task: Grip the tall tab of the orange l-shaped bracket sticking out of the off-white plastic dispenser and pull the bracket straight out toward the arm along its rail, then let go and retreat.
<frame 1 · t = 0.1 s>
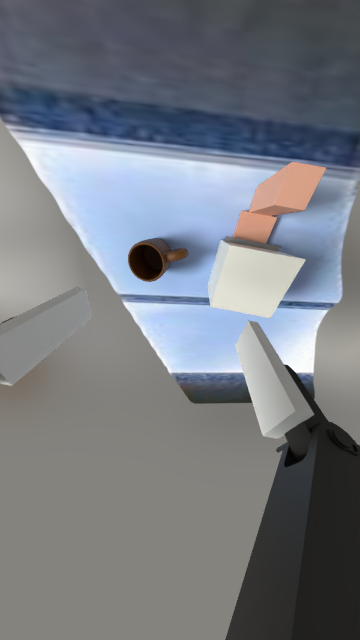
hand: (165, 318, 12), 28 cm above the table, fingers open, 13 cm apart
dispenser: (237, 269, 35), on the table
orange l-shaped bracket: (256, 246, 27), point 6 cm above the table, slide at 0.0 cm
mug: (166, 253, 35), on the table
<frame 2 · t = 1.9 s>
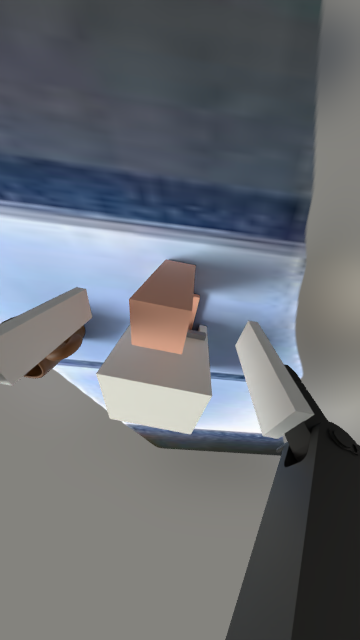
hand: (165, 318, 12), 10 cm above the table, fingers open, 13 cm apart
dispenser: (168, 342, 27), on the table
orange l-shaped bracket: (165, 344, 19), point 6 cm above the table, slide at 0.0 cm
mug: (77, 322, 27), on the table
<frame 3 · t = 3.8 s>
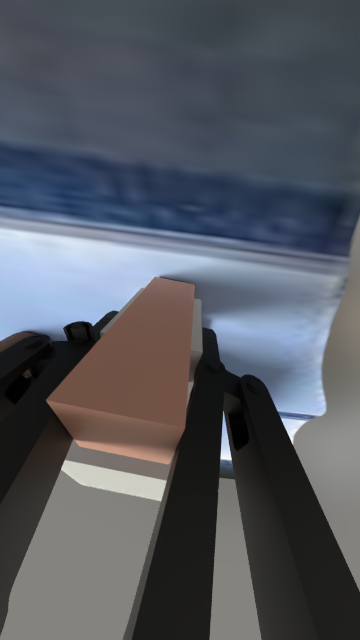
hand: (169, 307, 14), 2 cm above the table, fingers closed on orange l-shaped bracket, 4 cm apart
dispenser: (162, 372, 23), on the table
orange l-shaped bracket: (153, 390, 14), point 6 cm above the table, slide at 0.0 cm, touching gripper
mug: (51, 346, 23), on the table
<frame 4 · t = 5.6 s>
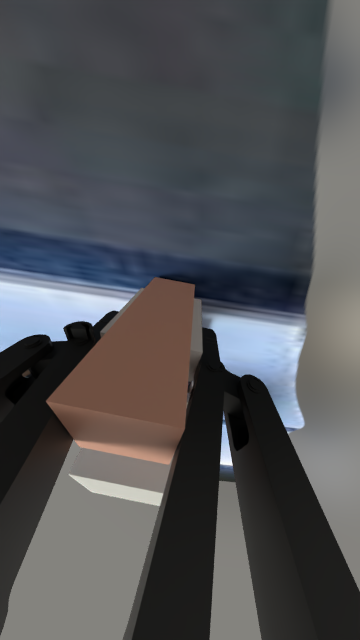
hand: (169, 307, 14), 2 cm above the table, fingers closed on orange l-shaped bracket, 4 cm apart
dispenser: (159, 391, 26), on the table
orange l-shaped bracket: (154, 390, 14), point 6 cm above the table, slide at 5.6 cm, touching gripper
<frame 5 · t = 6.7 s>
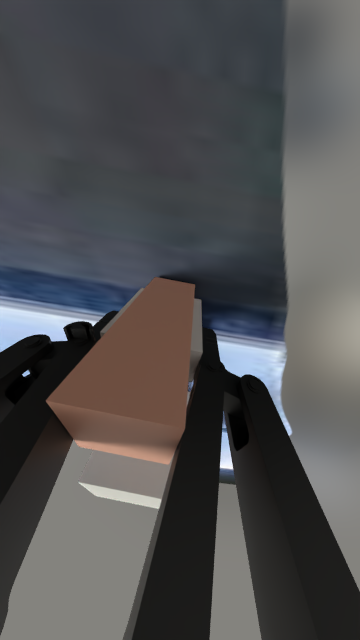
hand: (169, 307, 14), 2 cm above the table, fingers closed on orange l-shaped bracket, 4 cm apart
dispenser: (158, 401, 28), on the table
orange l-shaped bracket: (153, 390, 14), point 6 cm above the table, slide at 9.4 cm, touching gripper
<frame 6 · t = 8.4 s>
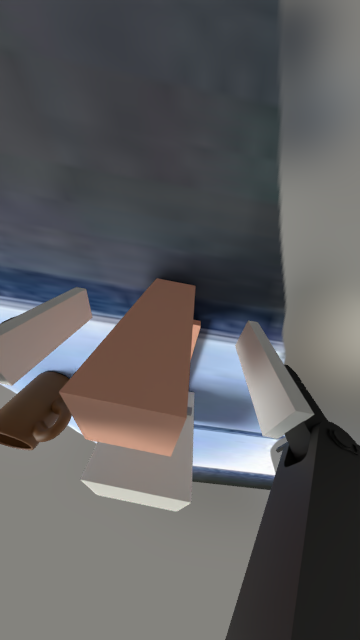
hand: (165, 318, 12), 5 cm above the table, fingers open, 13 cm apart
dispenser: (158, 401, 28), on the table
orange l-shaped bracket: (155, 388, 14), point 6 cm above the table, slide at 9.5 cm
mug: (69, 381, 28), on the table
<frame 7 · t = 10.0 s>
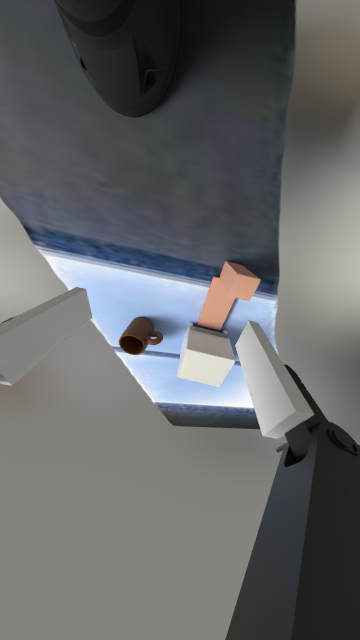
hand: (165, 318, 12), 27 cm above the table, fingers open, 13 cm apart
dispenser: (202, 339, 47), on the table
orange l-shaped bracket: (222, 308, 33), point 6 cm above the table, slide at 9.5 cm
mug: (149, 325, 46), on the table
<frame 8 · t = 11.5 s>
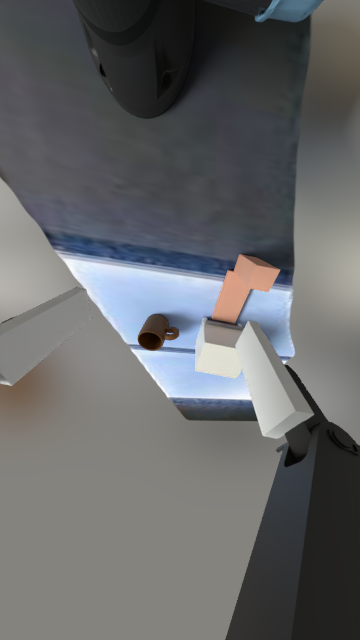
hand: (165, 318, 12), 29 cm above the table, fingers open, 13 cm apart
dispenser: (216, 333, 48), on the table
orange l-shaped bracket: (238, 301, 34), point 6 cm above the table, slide at 9.5 cm
mug: (164, 321, 48), on the table
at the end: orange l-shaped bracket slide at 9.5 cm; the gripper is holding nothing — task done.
